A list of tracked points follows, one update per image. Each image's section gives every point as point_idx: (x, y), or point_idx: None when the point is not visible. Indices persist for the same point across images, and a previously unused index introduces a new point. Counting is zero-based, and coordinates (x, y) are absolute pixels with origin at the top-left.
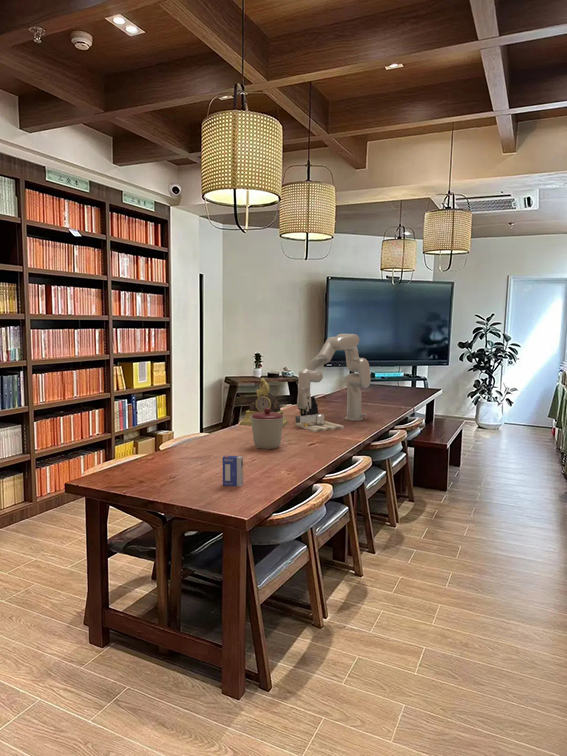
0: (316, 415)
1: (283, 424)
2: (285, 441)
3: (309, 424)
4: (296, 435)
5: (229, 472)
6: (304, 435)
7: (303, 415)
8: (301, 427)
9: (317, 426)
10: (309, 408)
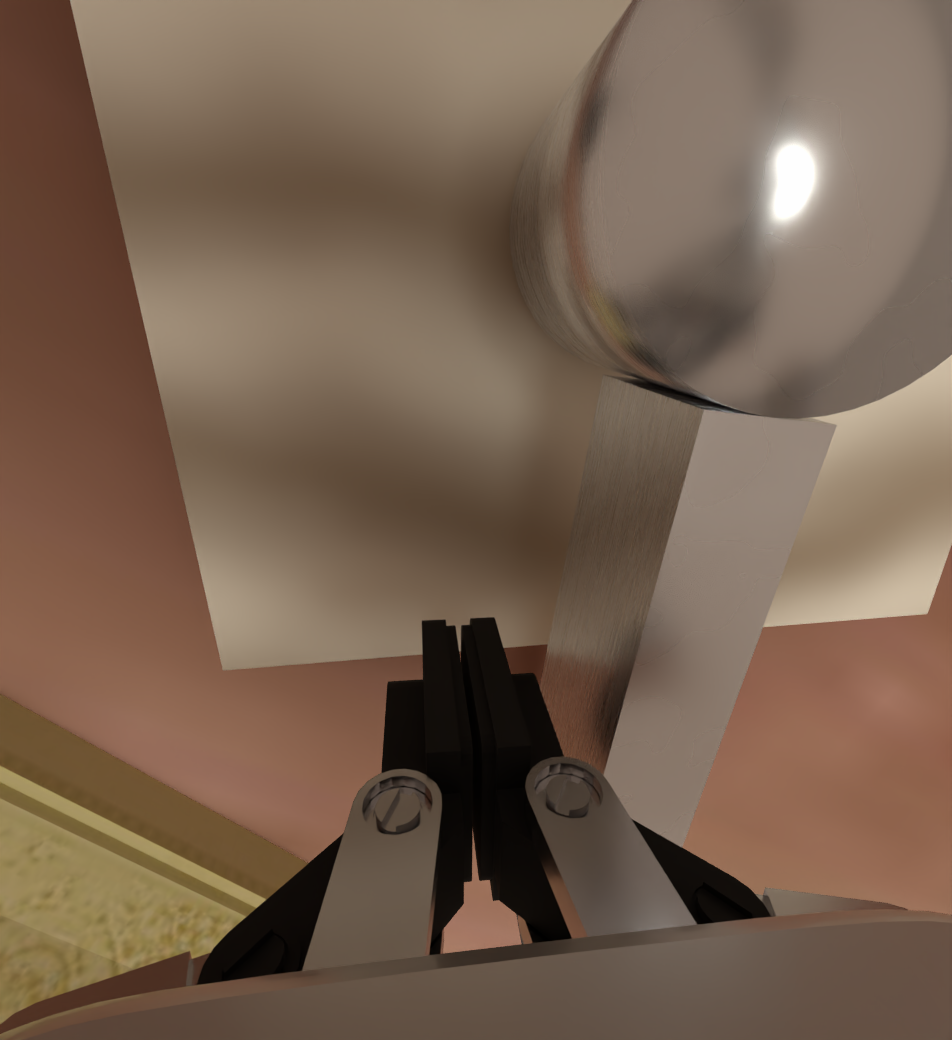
0: (846, 405)
1: (229, 868)
2: None
3: (469, 447)
4: (845, 870)
5: None
6: (917, 800)
7: None
8: None
9: None
10: (880, 939)
